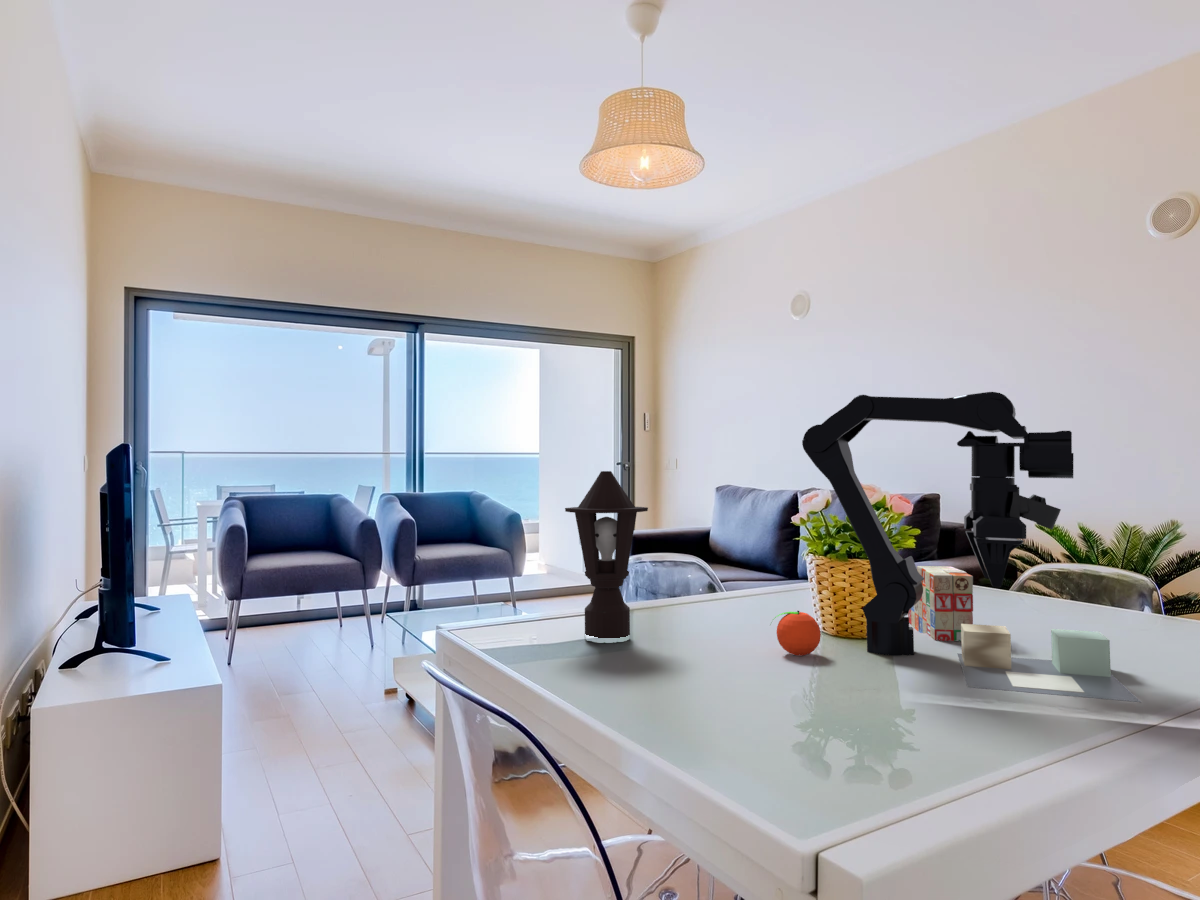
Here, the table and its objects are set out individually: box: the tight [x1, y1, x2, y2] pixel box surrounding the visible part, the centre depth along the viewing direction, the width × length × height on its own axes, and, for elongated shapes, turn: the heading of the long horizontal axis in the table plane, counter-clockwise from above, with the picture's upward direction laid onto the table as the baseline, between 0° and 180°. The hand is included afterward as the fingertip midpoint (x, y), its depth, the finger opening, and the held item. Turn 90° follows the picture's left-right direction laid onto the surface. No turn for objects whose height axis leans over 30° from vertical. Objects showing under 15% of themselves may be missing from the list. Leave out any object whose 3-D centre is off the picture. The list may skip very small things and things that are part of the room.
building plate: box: [957, 653, 1142, 703], centre depth 104 cm, size 19×20×1 cm
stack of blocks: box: [907, 565, 974, 642], centre depth 136 cm, size 21×6×12 cm, turn 169°
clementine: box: [769, 610, 822, 657], centre depth 121 cm, size 8×7×7 cm
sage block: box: [1050, 628, 1112, 677], centre depth 107 cm, size 6×6×5 cm
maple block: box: [960, 623, 1012, 669], centre depth 111 cm, size 6×6×5 cm
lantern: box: [564, 470, 649, 638], centre depth 135 cm, size 15×15×30 cm
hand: (992, 582), depth 111 cm, fingers open, 9 cm apart
